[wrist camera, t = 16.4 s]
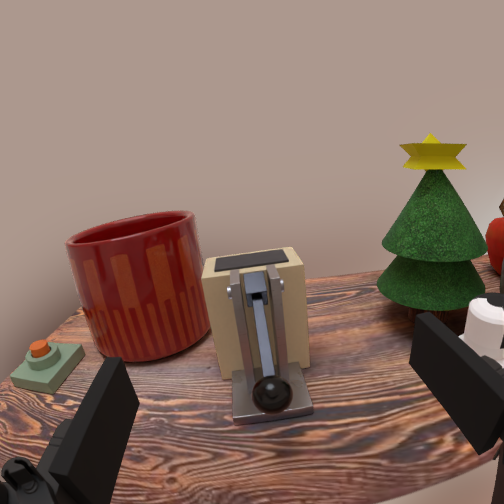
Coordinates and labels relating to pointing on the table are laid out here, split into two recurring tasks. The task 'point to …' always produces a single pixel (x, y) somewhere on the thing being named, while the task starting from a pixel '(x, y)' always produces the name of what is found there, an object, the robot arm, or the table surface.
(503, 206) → the miniature windmill
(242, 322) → the metal lever stand
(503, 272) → the sculpture
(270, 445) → the table surface
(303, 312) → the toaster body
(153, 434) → the table surface
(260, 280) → the toaster lever
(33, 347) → the button
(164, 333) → the planter
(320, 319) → the table surface
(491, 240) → the apple
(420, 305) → the decorative tree
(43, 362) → the control block
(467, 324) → the container
